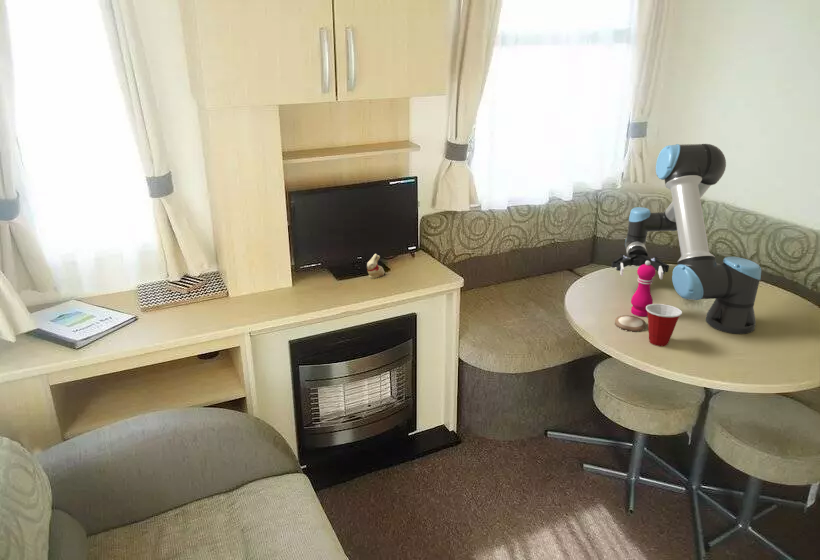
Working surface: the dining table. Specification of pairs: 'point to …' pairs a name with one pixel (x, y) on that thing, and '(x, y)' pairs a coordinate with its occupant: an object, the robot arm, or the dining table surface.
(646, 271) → the pepper mill
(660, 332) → the plastic cup
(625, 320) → the brown cream oval disc
